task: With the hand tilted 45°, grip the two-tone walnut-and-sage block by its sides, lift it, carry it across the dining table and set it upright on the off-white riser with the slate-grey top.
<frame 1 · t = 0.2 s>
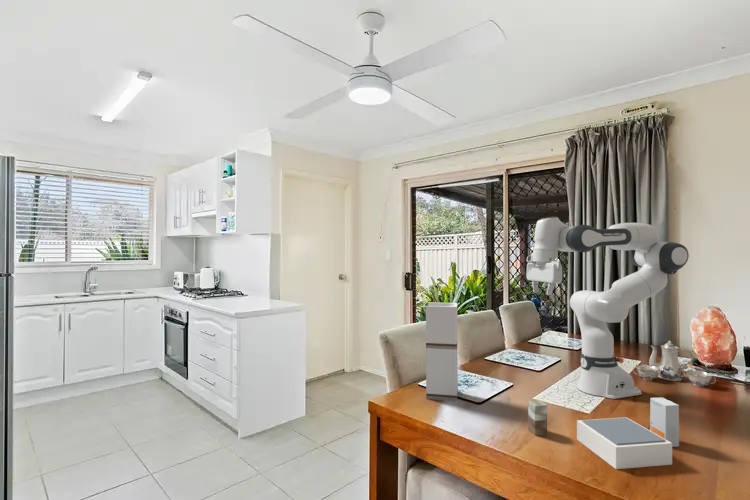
hand: (542, 293, 154), 39 cm above the table, tool pointing down, fingers open, 8 cm apart
skincare box: (664, 442, 116), on the table
riser: (621, 451, 111), on the table
banded white tower: (442, 395, 154), on the table
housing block: (537, 432, 123), on the table
chinaware: (671, 380, 170), on the table
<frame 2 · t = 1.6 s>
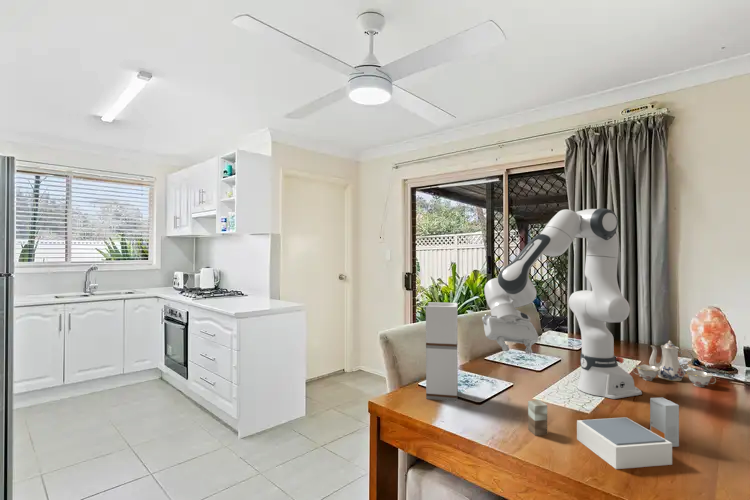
hand: (518, 351, 136), 21 cm above the table, tool tilted 45°, fingers open, 8 cm apart
nothing on the table moved.
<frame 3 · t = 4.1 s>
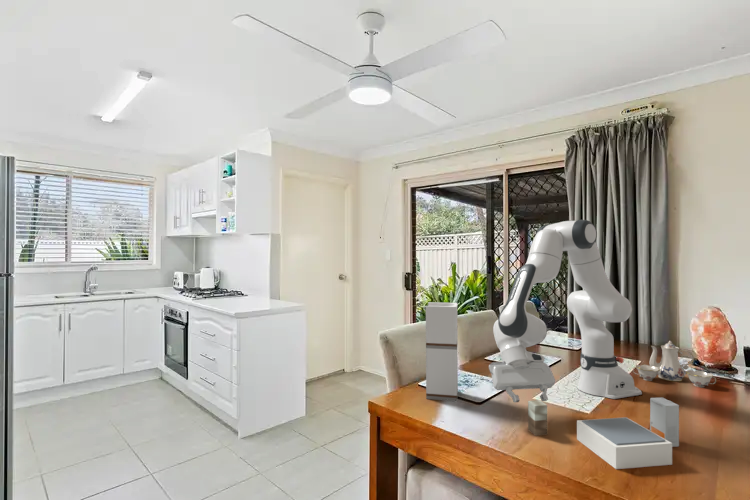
hand: (530, 401, 126), 8 cm above the table, tool tilted 45°, fingers open, 8 cm apart
nothing on the table moved.
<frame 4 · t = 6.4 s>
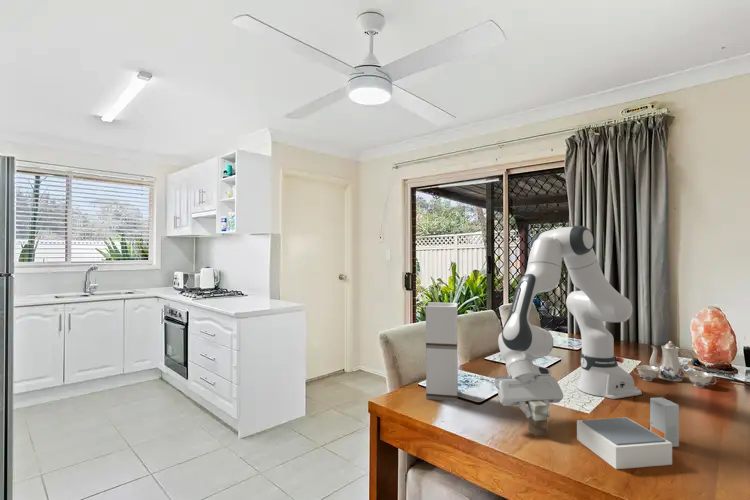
hand: (538, 417, 123), 5 cm above the table, tool tilted 45°, fingers closed on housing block, 4 cm apart
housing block: (537, 432, 123), on the table, touching gripper
everything else where it was.
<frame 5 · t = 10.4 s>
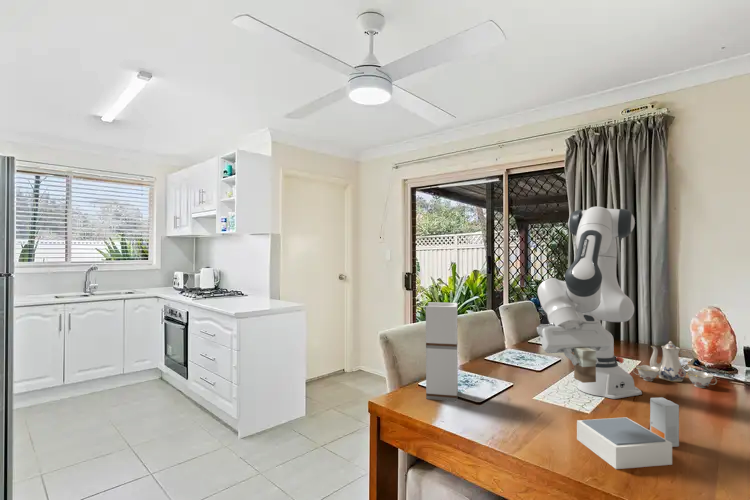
hand: (586, 363, 115), 23 cm above the table, tool tilted 45°, fingers closed on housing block, 4 cm apart
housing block: (584, 380, 116), point 18 cm above the table, touching gripper
everything else where it was.
when the fingers open (12 cm above the table, at t = 14.6 s): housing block drops 1 cm, resting on riser.
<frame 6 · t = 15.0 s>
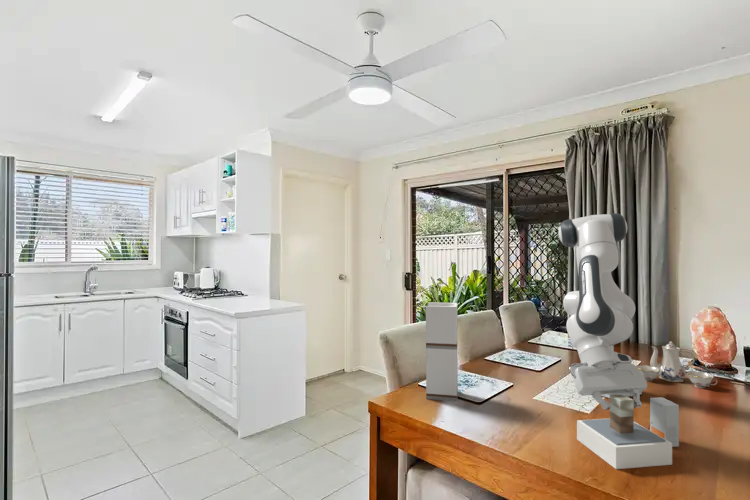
hand: (623, 407, 111), 12 cm above the table, tool tilted 45°, fingers open, 8 cm apart
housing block: (621, 429, 111), point 6 cm above the table, touching riser
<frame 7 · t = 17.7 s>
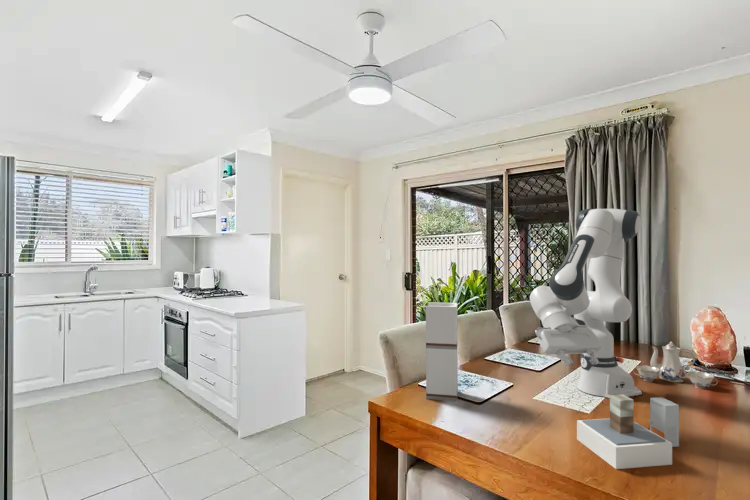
hand: (583, 364, 122), 21 cm above the table, tool tilted 50°, fingers open, 8 cm apart
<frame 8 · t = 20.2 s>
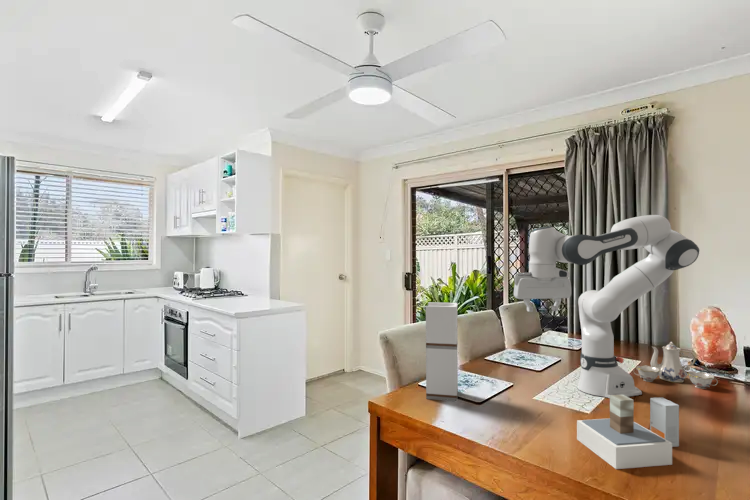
hand: (542, 311, 142), 34 cm above the table, tool pointing down, fingers open, 8 cm apart
at the end: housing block inside the target area on the riser (0.0 cm from its centre), point 6.0 cm above the riser's base; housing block tilted 0°; the gripper is holding nothing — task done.
